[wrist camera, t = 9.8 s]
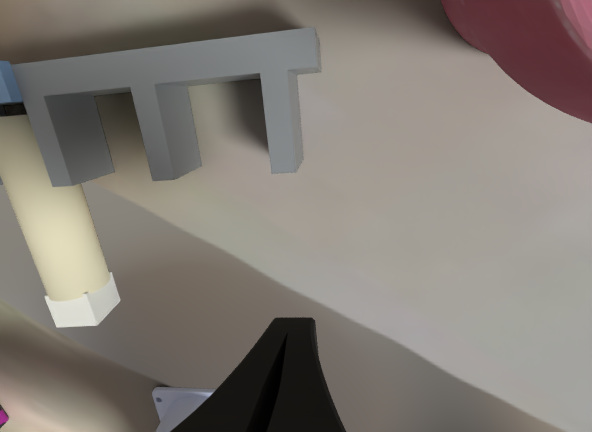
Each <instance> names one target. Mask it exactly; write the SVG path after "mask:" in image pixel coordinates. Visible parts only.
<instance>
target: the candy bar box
mask: <svg viewBox="0 0 592 432" xmlns="http://www.w3.org/2000/svg"><path fill="white" fill-rule="evenodd" d="M8 420H9V418H8V416H7V414H6V413H5V411H4V410H3V409H2V407H1V406H0V428H1V427H2V426H3V425H4V424H5V423H6V422H7V421H8Z"/></svg>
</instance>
